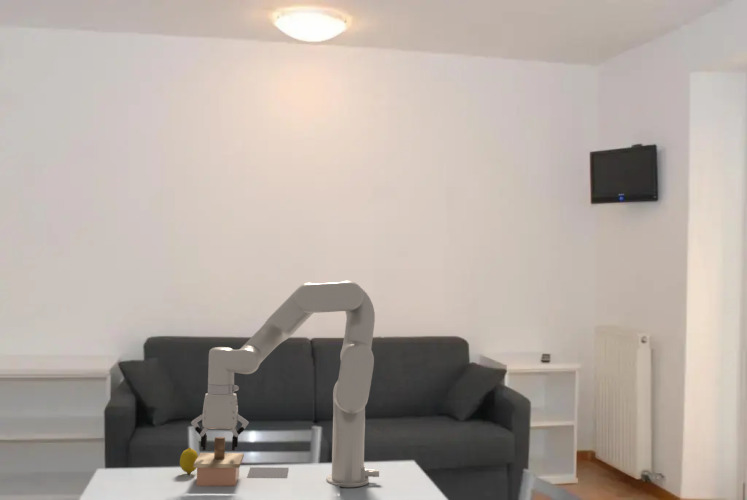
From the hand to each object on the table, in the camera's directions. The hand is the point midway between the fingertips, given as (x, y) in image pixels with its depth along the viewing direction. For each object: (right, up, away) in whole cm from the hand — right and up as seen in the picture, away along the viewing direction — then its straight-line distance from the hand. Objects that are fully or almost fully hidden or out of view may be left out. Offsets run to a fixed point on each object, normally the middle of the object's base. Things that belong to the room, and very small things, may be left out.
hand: (219, 449), depth 234 cm
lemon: (-11, -10, +8) cm, 17 cm away
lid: (0, -4, 0) cm, 4 cm away
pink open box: (0, -10, 0) cm, 10 cm away
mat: (+13, -10, +10) cm, 19 cm away
